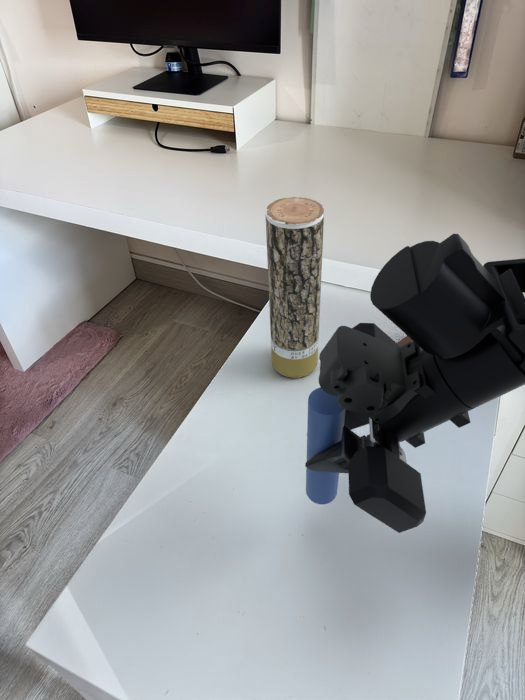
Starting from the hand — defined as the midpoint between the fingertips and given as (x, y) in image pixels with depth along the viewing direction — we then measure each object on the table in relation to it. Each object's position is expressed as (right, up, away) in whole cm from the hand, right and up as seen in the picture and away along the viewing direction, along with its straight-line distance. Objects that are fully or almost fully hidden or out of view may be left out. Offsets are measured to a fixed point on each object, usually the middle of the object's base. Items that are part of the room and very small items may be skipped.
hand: (309, 451), depth 48 cm
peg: (+2, -5, +4) cm, 7 cm away
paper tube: (0, +7, +28) cm, 29 cm away
